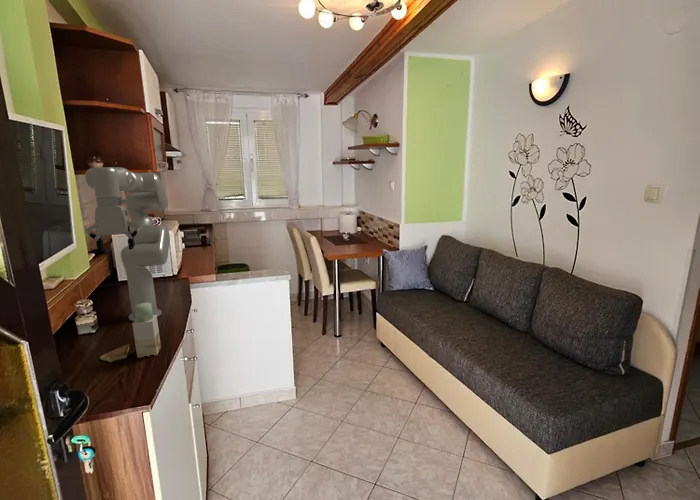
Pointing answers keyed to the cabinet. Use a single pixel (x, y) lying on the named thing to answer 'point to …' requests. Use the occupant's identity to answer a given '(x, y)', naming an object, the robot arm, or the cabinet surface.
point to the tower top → (145, 329)
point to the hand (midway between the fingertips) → (116, 250)
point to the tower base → (148, 346)
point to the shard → (116, 354)
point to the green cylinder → (143, 312)
